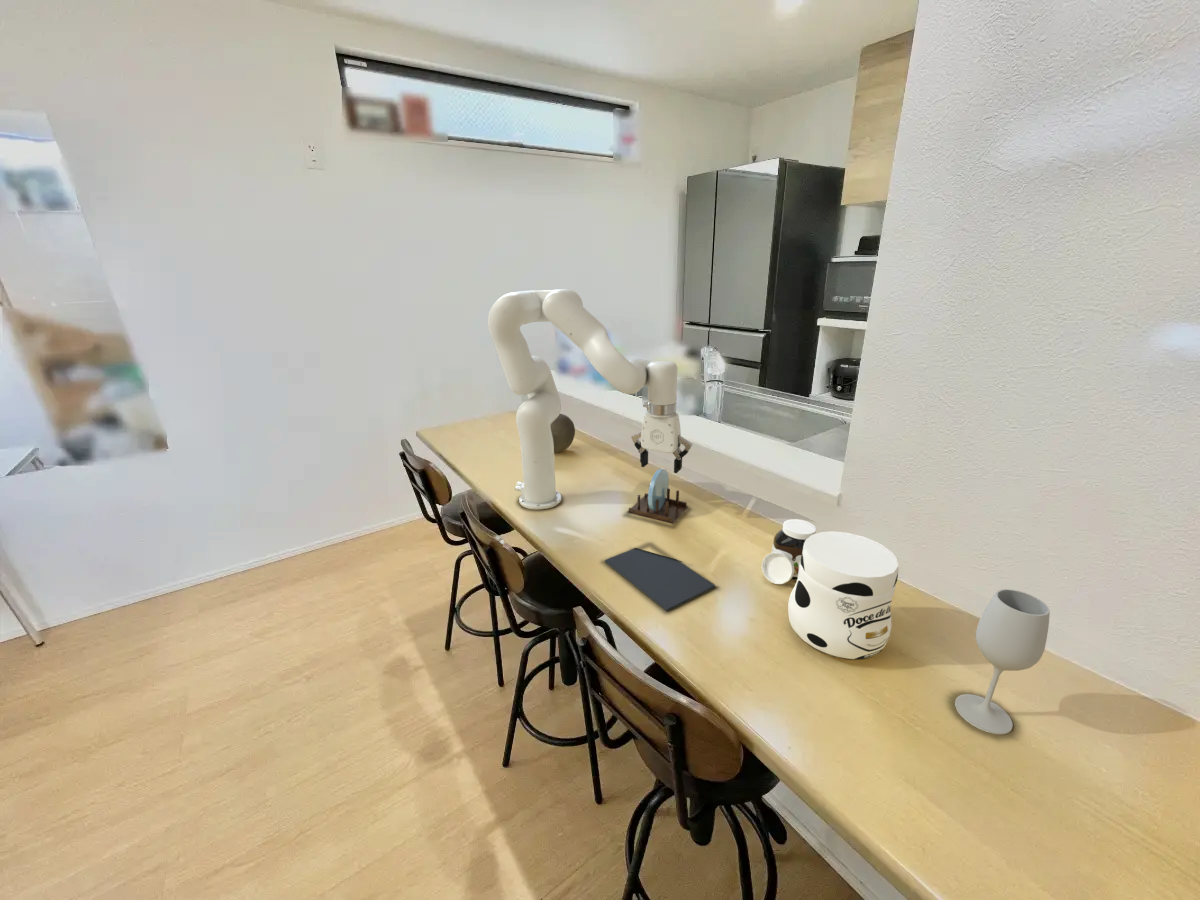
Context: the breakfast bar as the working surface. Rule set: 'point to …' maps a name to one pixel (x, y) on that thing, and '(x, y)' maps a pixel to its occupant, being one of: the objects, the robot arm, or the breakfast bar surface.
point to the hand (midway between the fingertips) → (660, 468)
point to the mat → (660, 577)
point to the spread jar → (787, 551)
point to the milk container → (844, 595)
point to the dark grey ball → (562, 432)
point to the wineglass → (1005, 651)
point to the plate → (658, 489)
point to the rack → (666, 513)
